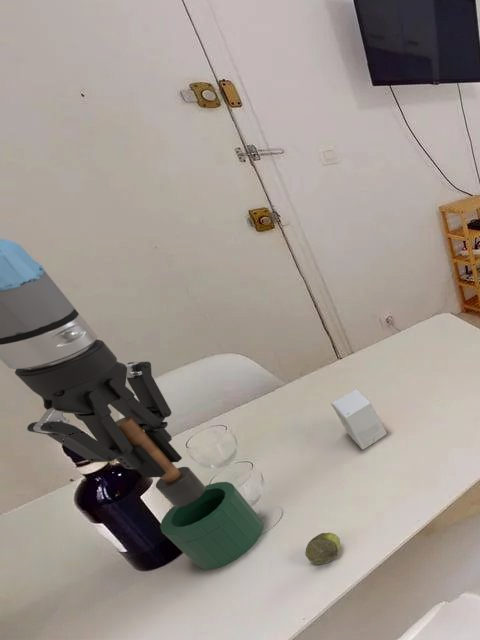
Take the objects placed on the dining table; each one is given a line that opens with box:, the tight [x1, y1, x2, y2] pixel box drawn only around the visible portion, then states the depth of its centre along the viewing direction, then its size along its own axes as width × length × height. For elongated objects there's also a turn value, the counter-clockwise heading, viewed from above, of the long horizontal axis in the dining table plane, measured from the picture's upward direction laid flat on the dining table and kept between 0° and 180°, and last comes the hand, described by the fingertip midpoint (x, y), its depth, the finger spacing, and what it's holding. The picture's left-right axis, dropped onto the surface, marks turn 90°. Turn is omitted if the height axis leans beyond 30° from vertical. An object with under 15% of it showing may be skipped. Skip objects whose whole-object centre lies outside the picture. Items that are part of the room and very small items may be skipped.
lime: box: [304, 532, 341, 565], centre depth 72 cm, size 4×5×5 cm
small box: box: [330, 389, 388, 451], centre depth 95 cm, size 8×6×10 cm
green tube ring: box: [159, 481, 264, 571], centre depth 73 cm, size 9×9×11 cm
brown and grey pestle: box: [115, 416, 206, 507], centre depth 65 cm, size 4×4×18 cm
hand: (163, 467), depth 66 cm, fingers closed on brown and grey pestle, 2 cm apart
